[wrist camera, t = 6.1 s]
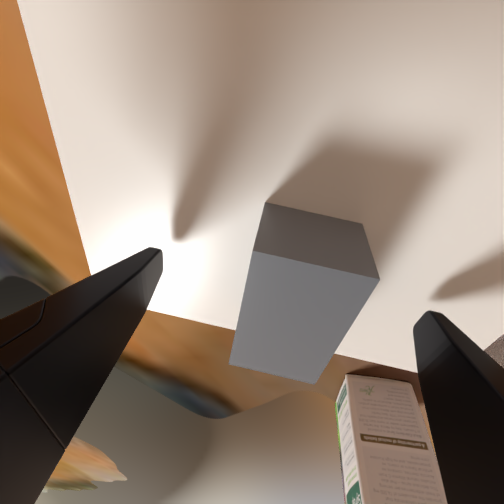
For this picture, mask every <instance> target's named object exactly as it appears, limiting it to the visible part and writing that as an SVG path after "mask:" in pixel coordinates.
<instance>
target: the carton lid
mask: <svg viewBox="0 0 504 504" xmlns="http://www.w3.org/2000/svg"><path fill="white" fill-rule="evenodd" d="M17 2H18V5H19V9H20V13H21V16H22V20H23V24H24V27H25V31H26V35H27V39H28V42H29V46H30V50H31V53H32V57H33V61H34V65H35V68H36V72H37V76H38V79H39V83H40V87H41V90H42V94H43V98H44V102H45V105H46V109H47V113H48V116H49V120H50V124H51V128H52V131H53V135H54V139H55V142H56V146H57V150H58V153H59V157H60V161H61V165H62V168H63V172H64V176H65V179H66V183H67V187H68V190H69V194H70V198H71V202H72V205H73V209H74V213H75V216H76V220H77V224H78V228H79V231H80V235H81V239H82V242H83V246H84V250H85V253H86V257H87V261H88V265H89V268H90V272H91V275H93V274H95V273H97V272H99V271H101V270H103V269H105V268H107V267H109V266H111V265H113V264H115V263H117V262H120V261H122V260H124V259H126V258H128V257H130V256H132V255H134V254H136V253H138V252H140V251H142V250H144V249H146V248H148V247H154V248H159V249H161V250H162V252H163V273H162V275H161V278H160V280H159V282H158V285H157V287H156V289H155V292H154V294H153V296H152V298H151V301H150V303H149V305H148V308H147V310H152V311H156V312H160V313H164V314H169V315H173V316H177V317H181V318H186V319H190V320H194V321H199V322H203V323H207V324H211V325H216V326H220V327H224V328H228V329H233V330H236V332H235V336H234V341H233V346H232V351H231V355H230V360H229V364H230V365H235V366H239V367H243V368H247V369H251V370H256V371H260V372H264V373H268V374H273V375H277V376H281V377H285V378H289V379H294V380H298V381H302V382H306V383H310V384H315V383H316V381H317V380H318V378H319V377H320V375H321V373H322V372H323V370H324V369H325V367H326V365H327V364H328V362H329V361H330V359H331V358H332V356H333V354H334V353H335V354H339V355H344V356H348V357H352V358H356V359H361V360H365V361H369V362H374V363H378V364H382V365H386V366H391V367H395V368H399V369H403V370H408V371H412V372H416V373H418V371H417V364H416V355H415V347H414V338H413V327H414V325H415V324H416V322H417V321H418V320H419V319H420V318H421V316H422V315H423V314H424V313H425V312H426V311H428V310H431V311H435V312H440V313H442V314H444V315H445V316H446V317H447V318H448V319H449V320H450V321H451V322H452V323H454V324H455V325H456V326H457V327H458V328H459V329H460V330H461V331H462V332H464V333H465V334H466V335H467V336H468V337H469V338H470V339H471V340H472V341H473V342H475V343H476V344H477V345H478V346H479V347H480V348H481V349H482V350H485V349H486V348H487V347H488V346H490V345H491V344H492V343H493V342H494V341H496V340H497V339H498V338H499V337H500V336H502V335H503V334H504V0H17Z"/></svg>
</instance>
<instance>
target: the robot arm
mask: <svg viewBox="0 0 504 504" xmlns="http://www.w3.org/2000/svg"><path fill="white" fill-rule="evenodd" d="M162 273H163V252H162V250H161V249H159V248H154V247H148V248H146V249H144V250H142V251H140V252H138V253H136V254H134V255H132V256H130V257H128V258H126V259H124V260H122V261H120V262H117V263H115V264H113V265H111V266H109V267H107V268H105V269H103V270H101V271H99V272H97V273H95V274H93V275H91V276H89V277H87V278H85V279H83V280H81V281H79V282H77V283H75V284H73V285H71V286H69V287H67V288H65V289H63V290H61V291H59V292H57V293H55V294H53V295H51V296H49V297H47V298H46V299H42V300H40V301H39V302H36V303H34V304H32V305H30V306H28V307H26V308H24V309H22V310H20V311H18V312H15V313H13V314H11V315H9V316H7V317H4V318H2V319H0V504H34V503H35V502H36V500H37V498H38V497H39V495H40V493H41V491H42V490H43V488H44V486H45V485H46V483H47V481H48V479H49V478H50V476H51V474H52V473H53V471H54V469H55V467H56V466H57V464H58V462H59V460H60V459H61V457H62V455H63V454H64V452H65V449H66V448H67V446H68V445H69V443H70V441H71V440H72V438H73V436H74V434H75V433H76V431H77V429H78V427H79V426H80V424H81V422H82V421H83V419H84V417H85V415H86V414H87V412H88V410H89V408H90V407H91V405H92V403H93V402H94V400H95V398H96V396H97V395H98V393H99V391H100V390H101V388H102V386H103V384H104V383H105V381H106V379H107V377H108V376H109V374H110V372H111V371H112V369H113V367H114V366H115V364H116V362H117V360H118V359H119V357H120V355H121V354H122V352H123V350H124V348H125V347H126V345H127V343H128V341H129V340H130V338H131V336H132V335H133V333H134V331H135V329H136V328H137V326H138V324H139V323H140V321H141V319H142V317H143V316H144V314H145V312H146V310H147V308H148V305H149V303H150V301H151V298H152V296H153V294H154V292H155V289H156V287H157V285H158V282H159V280H160V278H161V275H162ZM413 338H414V347H415V355H416V364H417V371H418V377H419V382H420V387H421V391H422V395H423V400H424V404H425V408H426V413H427V417H428V421H429V426H430V430H431V435H432V439H433V443H434V448H435V452H436V456H437V461H438V465H439V469H440V474H441V478H442V482H443V487H444V491H445V495H446V500H447V504H504V369H503V368H502V367H501V366H500V365H499V364H498V363H497V362H496V361H495V360H493V359H492V358H491V357H490V356H489V355H488V354H487V353H486V352H485V351H483V350H482V349H481V348H480V347H479V346H478V345H477V344H476V343H475V342H473V341H472V340H471V339H470V338H469V337H468V336H467V335H466V334H465V333H464V332H462V331H461V330H460V329H459V328H458V327H457V326H456V325H455V324H454V323H452V322H451V321H450V320H449V319H448V318H447V317H446V316H445V315H444V314H442V313H440V312H435V311H431V310H428V311H426V312H425V313H424V314H423V315H422V316H421V318H420V319H419V320H418V321H417V322H416V324H415V325H414V327H413Z"/></svg>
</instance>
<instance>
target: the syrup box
mask: <svg viewBox="0 0 504 504" xmlns="http://www.w3.org/2000/svg"><path fill="white" fill-rule="evenodd" d="M335 410H336V419H337V429H338V440H339V450H340V460H341V470H342V481H343V491H344V500H345V504H447V500H446V495H445V491H444V487H443V482H442V478H441V474H440V469H439V465H438V462H437V459H436V456H435V453H434V450H433V447H432V444H431V441H430V438H429V435H428V432H427V429H426V426H425V423H424V419H423V417H422V414H421V411H420V408H419V405H418V402H417V399H416V396H415V393H414V390H413V387H412V385H411V384H410V383H407V382H402V381H397V380H391V379H384V378H377V377H369V376H360V375H350V374H346V376H345V380H344V382H343V384H342V386H341V389H340V392H339V394H338V397H337V400H336V403H335Z"/></svg>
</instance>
